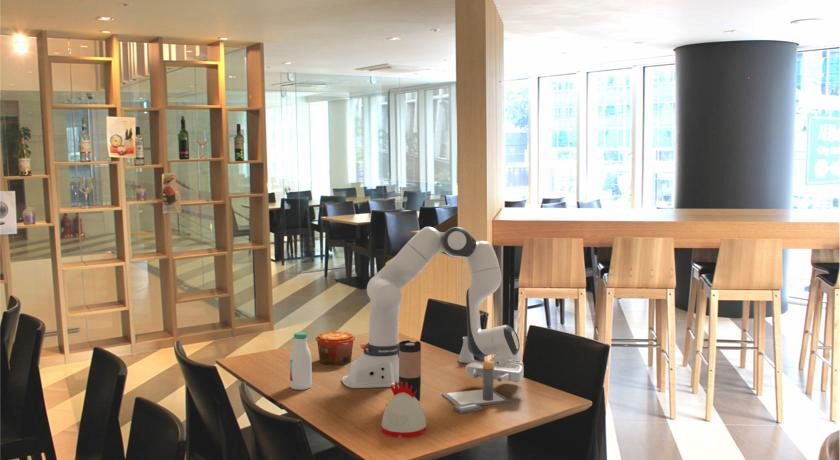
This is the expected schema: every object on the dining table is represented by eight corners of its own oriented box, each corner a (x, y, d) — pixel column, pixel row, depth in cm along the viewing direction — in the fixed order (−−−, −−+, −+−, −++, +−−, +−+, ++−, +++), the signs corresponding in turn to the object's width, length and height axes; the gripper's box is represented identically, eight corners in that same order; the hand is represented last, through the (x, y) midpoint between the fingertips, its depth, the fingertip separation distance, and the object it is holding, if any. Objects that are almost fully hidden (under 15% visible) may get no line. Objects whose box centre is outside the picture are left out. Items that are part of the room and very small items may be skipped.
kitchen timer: (390, 420, 245) (390, 374, 243) (431, 424, 241) (431, 377, 240) (375, 435, 232) (375, 386, 230) (418, 440, 228) (418, 390, 226)
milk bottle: (315, 385, 281) (315, 332, 279) (304, 391, 274) (303, 336, 272) (298, 382, 284) (297, 329, 282) (286, 388, 277) (285, 334, 275)
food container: (334, 354, 326) (333, 329, 325) (362, 360, 316) (362, 334, 315) (307, 362, 313) (307, 336, 312) (336, 368, 303) (336, 342, 302)
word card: (461, 413, 251) (461, 410, 251) (453, 409, 255) (453, 405, 255) (481, 409, 255) (481, 406, 255) (473, 405, 259) (473, 402, 259)
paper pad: (457, 407, 257) (457, 405, 257) (441, 394, 271) (441, 392, 271) (509, 402, 263) (509, 400, 263) (490, 389, 277) (490, 387, 277)
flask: (473, 364, 311) (474, 340, 310) (456, 363, 313) (456, 339, 312) (476, 359, 318) (476, 336, 317) (458, 358, 320) (459, 335, 319)
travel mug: (404, 404, 260) (404, 346, 258) (394, 398, 267) (395, 341, 265) (424, 401, 264) (425, 344, 262) (414, 395, 270) (414, 339, 268)
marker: (485, 401, 262) (485, 364, 260) (480, 397, 265) (481, 361, 264) (495, 400, 263) (495, 363, 262) (490, 396, 266) (491, 360, 265)
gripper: (473, 355, 279) (459, 365, 267) (527, 362, 271) (515, 372, 258) (472, 372, 280) (458, 382, 267) (527, 379, 271) (515, 390, 259)
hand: (487, 377), depth 262 cm, fingers open, 8 cm apart
